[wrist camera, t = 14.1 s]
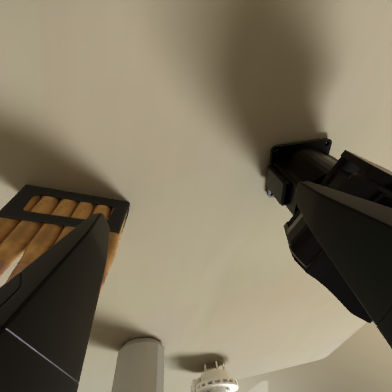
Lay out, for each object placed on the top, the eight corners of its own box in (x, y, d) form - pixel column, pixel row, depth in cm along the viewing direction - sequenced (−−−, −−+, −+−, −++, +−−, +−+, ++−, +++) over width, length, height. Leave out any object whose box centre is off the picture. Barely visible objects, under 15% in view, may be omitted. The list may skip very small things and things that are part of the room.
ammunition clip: (130, 202, 24) (103, 301, 14) (128, 214, 25) (101, 315, 15) (25, 184, 22) (-96, 290, 12) (27, 198, 23) (-83, 308, 13)
